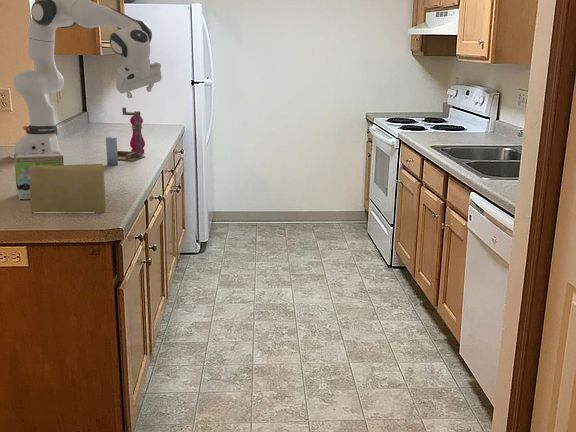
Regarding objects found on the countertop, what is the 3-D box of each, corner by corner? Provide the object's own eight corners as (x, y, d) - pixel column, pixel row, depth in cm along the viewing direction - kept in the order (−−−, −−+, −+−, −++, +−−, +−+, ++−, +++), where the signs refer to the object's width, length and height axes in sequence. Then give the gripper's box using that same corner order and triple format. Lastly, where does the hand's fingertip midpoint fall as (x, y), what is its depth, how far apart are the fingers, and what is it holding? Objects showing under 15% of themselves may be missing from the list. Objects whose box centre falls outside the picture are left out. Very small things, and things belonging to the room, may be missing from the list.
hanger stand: (133, 161, 279) (131, 110, 272) (107, 159, 282) (104, 109, 275) (145, 157, 289) (143, 108, 283) (120, 155, 292) (118, 106, 286)
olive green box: (29, 217, 187) (24, 169, 183) (34, 209, 196) (30, 163, 192) (104, 214, 192) (102, 167, 188) (106, 207, 201) (103, 162, 197)
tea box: (19, 201, 206) (15, 157, 202) (16, 194, 214) (12, 152, 210) (66, 197, 213) (63, 154, 209) (62, 190, 221) (59, 150, 217)
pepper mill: (141, 154, 296) (139, 113, 291) (127, 153, 297) (125, 112, 292) (147, 152, 303) (146, 111, 297) (134, 151, 304) (132, 110, 299)
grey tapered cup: (109, 166, 267) (107, 138, 264) (105, 164, 271) (104, 137, 267) (119, 165, 270) (118, 137, 266) (115, 163, 273) (114, 136, 270)
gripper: (156, 57, 262) (156, 83, 272) (113, 70, 251) (114, 96, 262) (164, 65, 259) (164, 91, 270) (121, 78, 249) (122, 105, 259)
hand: (139, 94), depth 266 cm, fingers open, 8 cm apart
